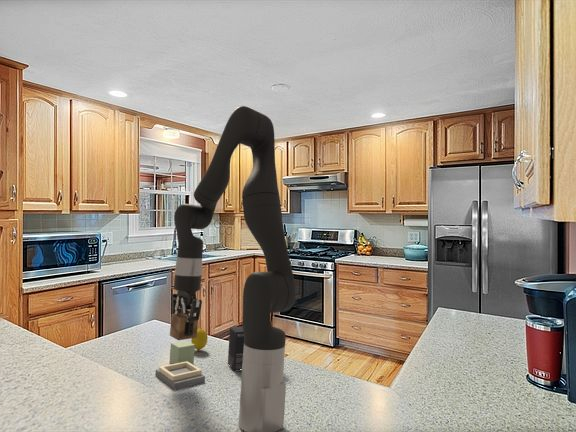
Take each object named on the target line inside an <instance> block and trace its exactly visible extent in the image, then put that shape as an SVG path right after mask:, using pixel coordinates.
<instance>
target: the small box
mask: <svg viewBox="0 0 576 432" xmlns="http://www.w3.org/2000/svg"><path fill="white" fill-rule="evenodd" d="M228 335H229V336H228V337H229V338H228V350H227V351H228V355H227V365H228V364H229V365H230V367H231V368H232V369H233V370H232V369H231V368H230V367H229V368H230V369H231V370H232V371H233V372H234V371H236V370H240V369H242V364H243V350H244V332H243V326H234V327H233V326H231V327H229V334H228ZM236 372H237V371H236Z"/></svg>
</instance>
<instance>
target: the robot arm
mask: <svg viewBox="0 0 576 432" xmlns="http://www.w3.org/2000/svg"><path fill="white" fill-rule="evenodd" d="M275 142H276V141H275V127H274V124H273V121H272V120H271V119H270V117H268V116H267V115H266V114H263V113H262V112H260V111H257V110H255V109H253V108H251V107H248V106H245V105H241V106H238V107H236V108H235V109H234V110H232V113H231V114H230V116H229V117H228V119H227V122H226V123H225V125H224V129H223V131H222V133H221V136H220V139H219V141H218V143H217V146H216V148H215V151H214V153H213V157H212V158H211V162H210V164H209V165H208V167H207V169H206V171H205V172H204V175H203V177H202V178H201V180H200V182H199V183H198V185H197V186H196V188H195V190H194V191H193V198H194V200H195V201H196V202H197V203H198V204H199V205H197V204H190V203H182V204H180V205H178V206H177V207H176V209H175V211H174V215H173V216H174V217H173V218H174V219H173V220H174V227H175V231H176V237H177V244H178V245H177V255H176V256H177V257H176V261H175V268H174V279H173V290H175V291H177V292H174V293H172V294H171V315H172V314H180V313H183V314H185V318H186V323H185V336H191V335H193V326H194V322H195V321H198V322H199V320H200V316H201V308H202V304H203V300H202V299H197V292H199V291H200V290H201V289H202V288H201V287H202V276H203V253H204V252H203V251H204V241H203V239H202V238H200V237H197V236H195V235H194V233H193V231H192V230H205V229H206V228H208V227H209V226H210V224H212V220H213V217H214V214H215V211H216V207H217V204H218V201H219V200H220V199H221V197H222V195H224V193H225V191H226V189H227V188H228V186H229V182H230V180H231V179H230V178H231V159H232V156H233V153H234V152H235V150H236V149H237V147H238V146H239V145H243V146H246V147H248V148H250V150H251V155H252V169H251V172H250V174H249V176H248V178H247V180H246V181H245V184H244V186H243V189H242V193H241V198H242V199H241V201H242V209H243V218H244V221H245V224H246V226H247V229H248V230H249V231H250V233H251V235H252V236H253V238H254V239H255V241H256V242H257V244H258V245H259V247H260V248H261V251H262V253H263V256H264V259H265V263H266V271H253V272H252V273H250V274H249V275H248V276H247V278H246V280H245V282H244V285H243V290H242V291H243V293H242V321H241V322H242V323H241V324H242V326H241V327H243V332H244V350H243V364H242V371H241V380H240V392H239V393H240V395H239V396H240V397H239V409H238V410H239V411H238V412H239V413H238V427H239V428H240V429H241V430H242V431H243V430H244V431H243V432H278V431H280V430H282V429H284V426H285V425H284V424H285V408H286V393H287V392H286V391H287V389H286V388H287V384H286V382H284V369H285V355H286V354H285V353H286V351H285V350H286V339H287V336H286V332H285V331H284V330H283V329H281V328H278V327H275V326H273V325H272V321H271V319H272V318H271V315H272V314H273V313H282V312H283V313H284V312H288V311H289V310H291V309H292V307H293V306H294V304H295V301H296V295H297V294H296V283H295V277H294V273H293V268H292V264H291V260H290V257H289V256H290V255H289V252H288V247H287V241H286V235H285V229H284V223H283V222H284V221H283V216H282V215H283V214H282V204H281V203H282V202H281V196H280V193H279V185H278V177H277V175H278V174H277V167H276V154H275V153H276V151H275V149H276V147H275V145H276V143H275ZM189 314H190V315H189ZM195 315H196V316H195Z"/></svg>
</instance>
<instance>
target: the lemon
mask: <svg viewBox="0 0 576 432" xmlns="http://www.w3.org/2000/svg"><path fill="white" fill-rule="evenodd" d="M190 343H192V344H194V345H195V350H196V351H198V350H200V349H201V350H202V349H204V348H205V347H206V346H207V343H208V333H207V331H206V330H205V329H203V328H202V327H198V328H197V338H191V339H190ZM201 350H200V351H201Z"/></svg>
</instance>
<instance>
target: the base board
mask: <svg viewBox="0 0 576 432" xmlns="http://www.w3.org/2000/svg"><path fill="white" fill-rule="evenodd" d="M202 371H203V370H202V369H201V368H199V367H197V366H196V365H194V364H191V363H189V362H188V361H186V362H181V363H176V364H171V363H170V364H167V365H162V366H159V367H158V368H157V369H155V376H157V377H158V378H159V379H160V380H161V381H162V382H164V383H165V384H167V385H168V386H169V387H171V389H173V390H177V389H181V388H185V387H189V386H193V385H197V384H200V383H204V382H205V381H206V375H204V374H203V373H202Z"/></svg>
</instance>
